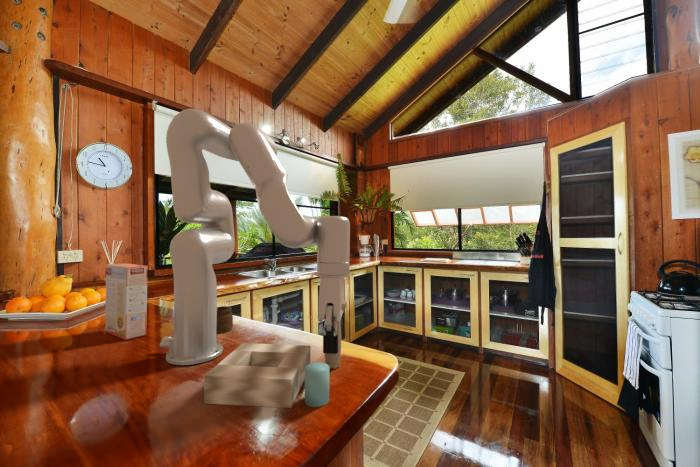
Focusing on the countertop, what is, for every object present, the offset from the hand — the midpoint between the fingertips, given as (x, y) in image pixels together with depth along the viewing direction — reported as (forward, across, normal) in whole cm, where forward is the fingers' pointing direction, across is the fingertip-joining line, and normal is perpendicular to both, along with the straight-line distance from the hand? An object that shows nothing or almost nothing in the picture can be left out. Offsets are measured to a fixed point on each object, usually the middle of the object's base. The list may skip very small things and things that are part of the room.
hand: (332, 345), depth 69 cm
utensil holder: (+5, -22, -38) cm, 44 cm away
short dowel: (+5, +14, -1) cm, 15 cm away
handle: (+5, 0, 0) cm, 5 cm away
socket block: (+5, +9, -13) cm, 17 cm away
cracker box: (+5, -16, -65) cm, 67 cm away
